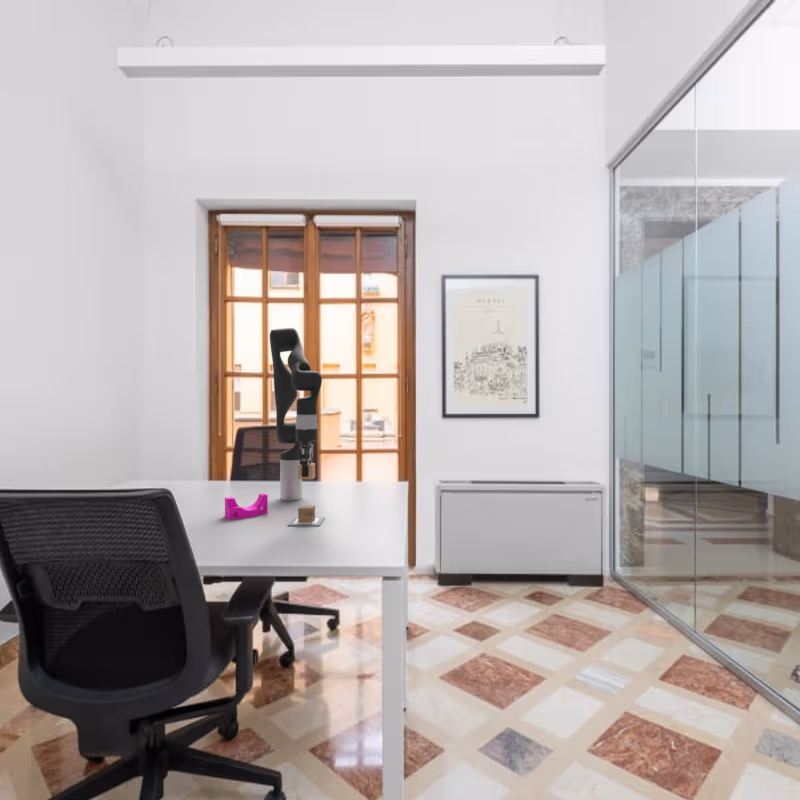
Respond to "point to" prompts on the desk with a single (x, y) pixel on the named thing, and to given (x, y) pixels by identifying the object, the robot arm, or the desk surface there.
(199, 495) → the desk surface
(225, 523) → the desk surface
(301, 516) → the walnut cube
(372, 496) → the desk surface
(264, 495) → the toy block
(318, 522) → the blue bordered cream board
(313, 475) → the terracotta cube
